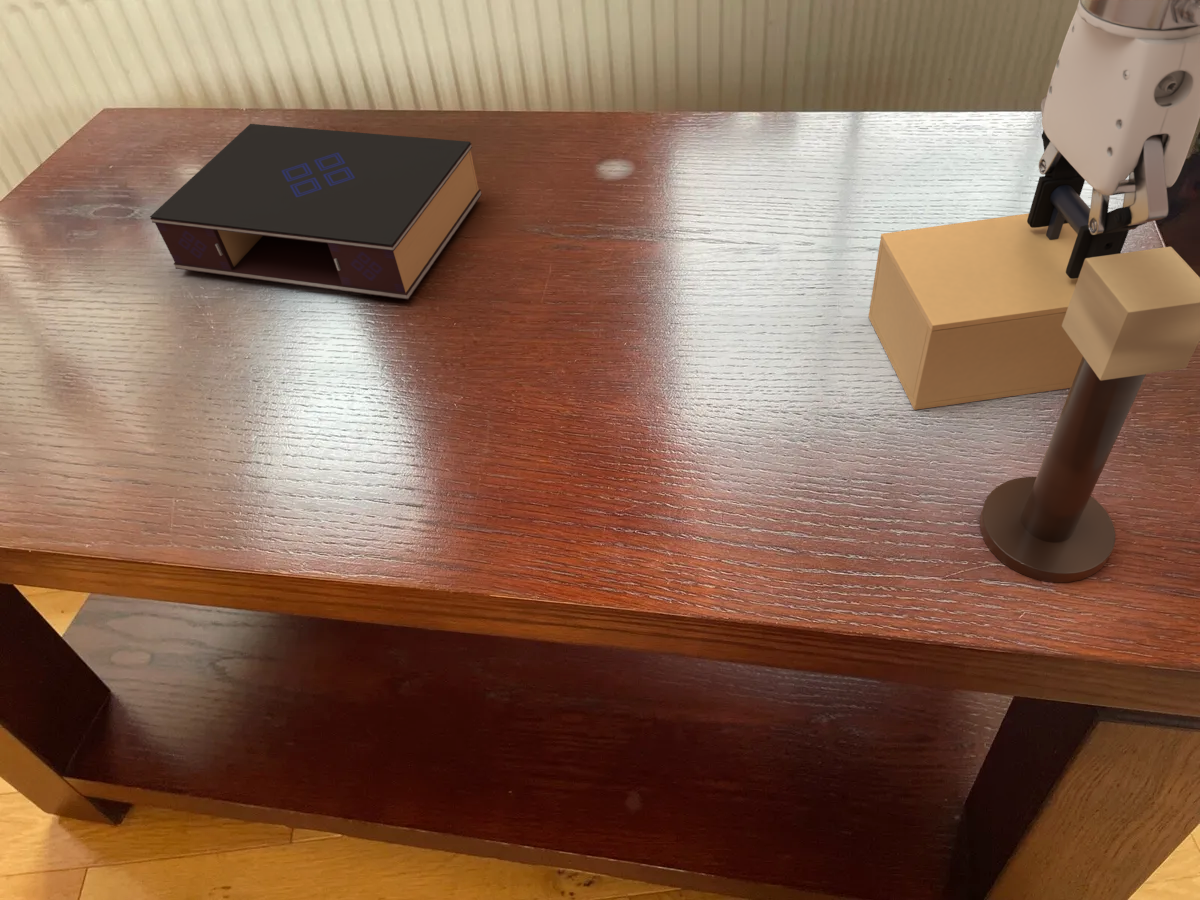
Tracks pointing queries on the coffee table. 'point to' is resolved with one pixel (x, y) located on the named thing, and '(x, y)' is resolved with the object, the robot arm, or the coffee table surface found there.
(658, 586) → the coffee table surface
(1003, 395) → the carton
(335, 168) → the black flat box
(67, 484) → the coffee table surface
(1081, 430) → the stand
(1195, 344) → the block
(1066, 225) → the carton flap
